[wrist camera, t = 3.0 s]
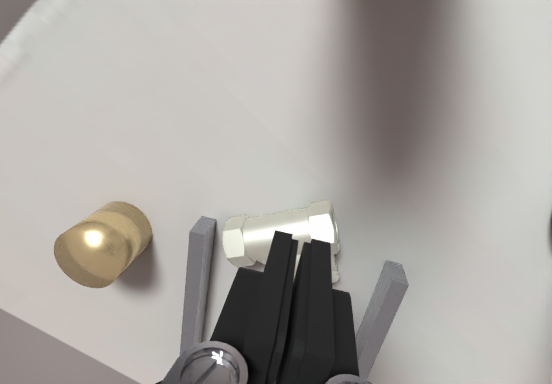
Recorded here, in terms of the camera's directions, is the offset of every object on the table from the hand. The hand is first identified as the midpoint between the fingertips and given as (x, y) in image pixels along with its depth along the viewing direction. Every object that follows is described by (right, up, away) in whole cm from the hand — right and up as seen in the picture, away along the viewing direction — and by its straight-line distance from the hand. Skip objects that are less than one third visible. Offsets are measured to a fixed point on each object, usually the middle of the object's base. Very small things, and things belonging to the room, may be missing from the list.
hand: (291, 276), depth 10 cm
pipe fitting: (+1, -1, +17) cm, 17 cm away
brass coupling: (-14, -1, +18) cm, 23 cm away
